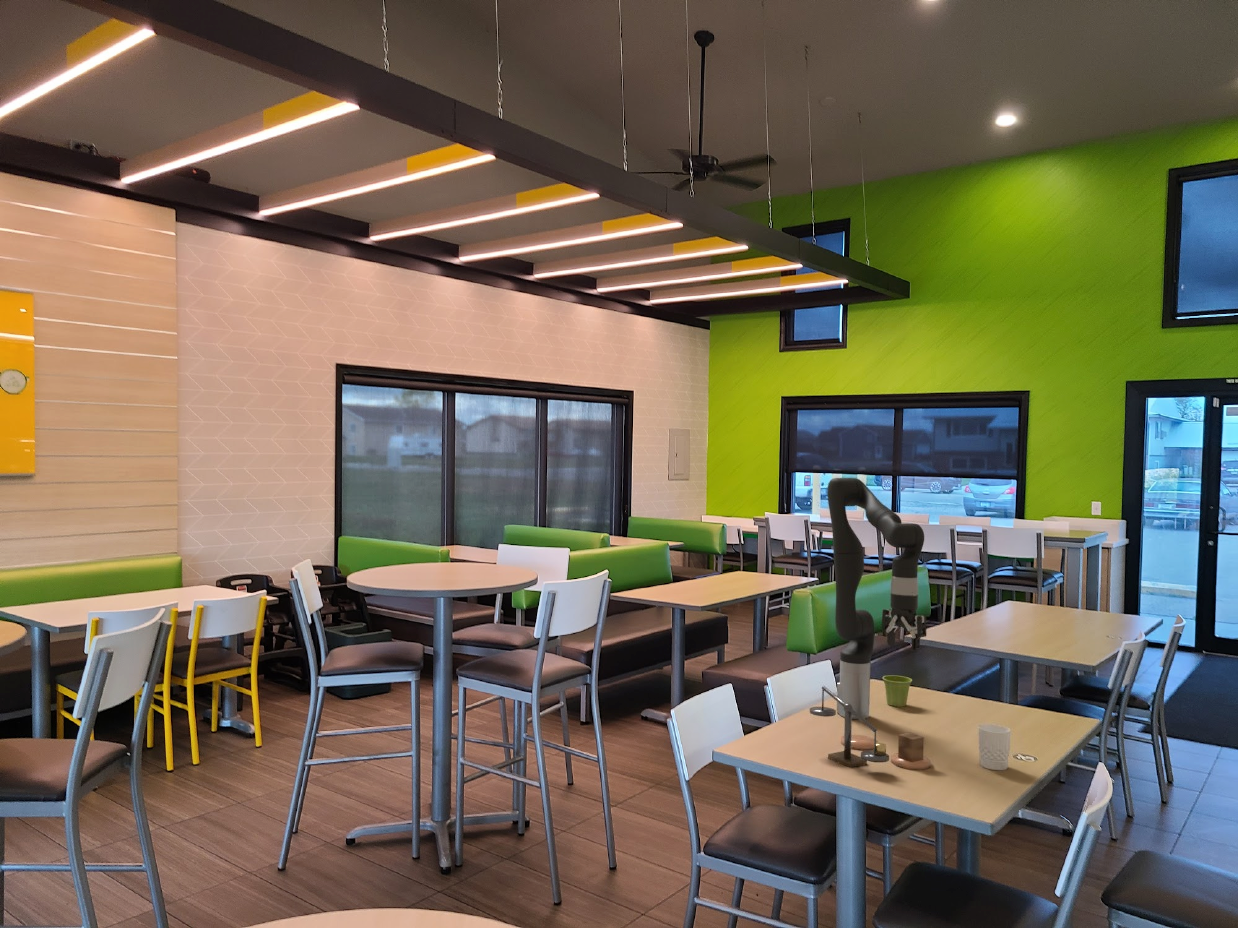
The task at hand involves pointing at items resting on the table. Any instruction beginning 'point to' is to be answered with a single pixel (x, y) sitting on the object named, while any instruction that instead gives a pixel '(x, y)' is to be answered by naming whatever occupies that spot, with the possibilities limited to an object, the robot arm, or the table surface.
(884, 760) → the balance
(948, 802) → the table surface
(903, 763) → the dish right
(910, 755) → the walnut block
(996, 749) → the white cup
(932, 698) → the table surface
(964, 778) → the table surface
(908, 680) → the plant pot
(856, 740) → the dish left
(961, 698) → the table surface
